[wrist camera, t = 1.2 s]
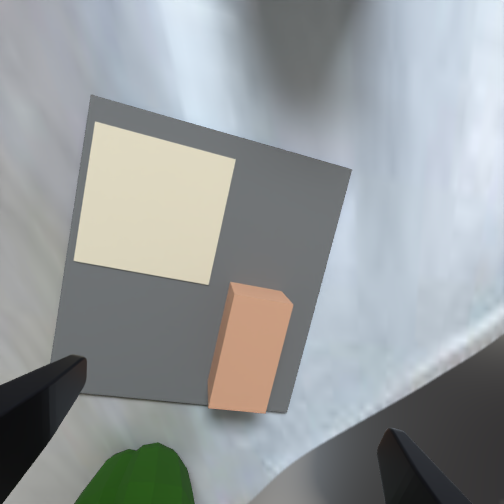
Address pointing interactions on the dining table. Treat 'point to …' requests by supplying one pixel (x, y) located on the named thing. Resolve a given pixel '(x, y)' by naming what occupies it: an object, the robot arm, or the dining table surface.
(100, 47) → the dining table surface
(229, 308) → the flat block
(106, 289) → the rubber mat
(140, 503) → the bell pepper
